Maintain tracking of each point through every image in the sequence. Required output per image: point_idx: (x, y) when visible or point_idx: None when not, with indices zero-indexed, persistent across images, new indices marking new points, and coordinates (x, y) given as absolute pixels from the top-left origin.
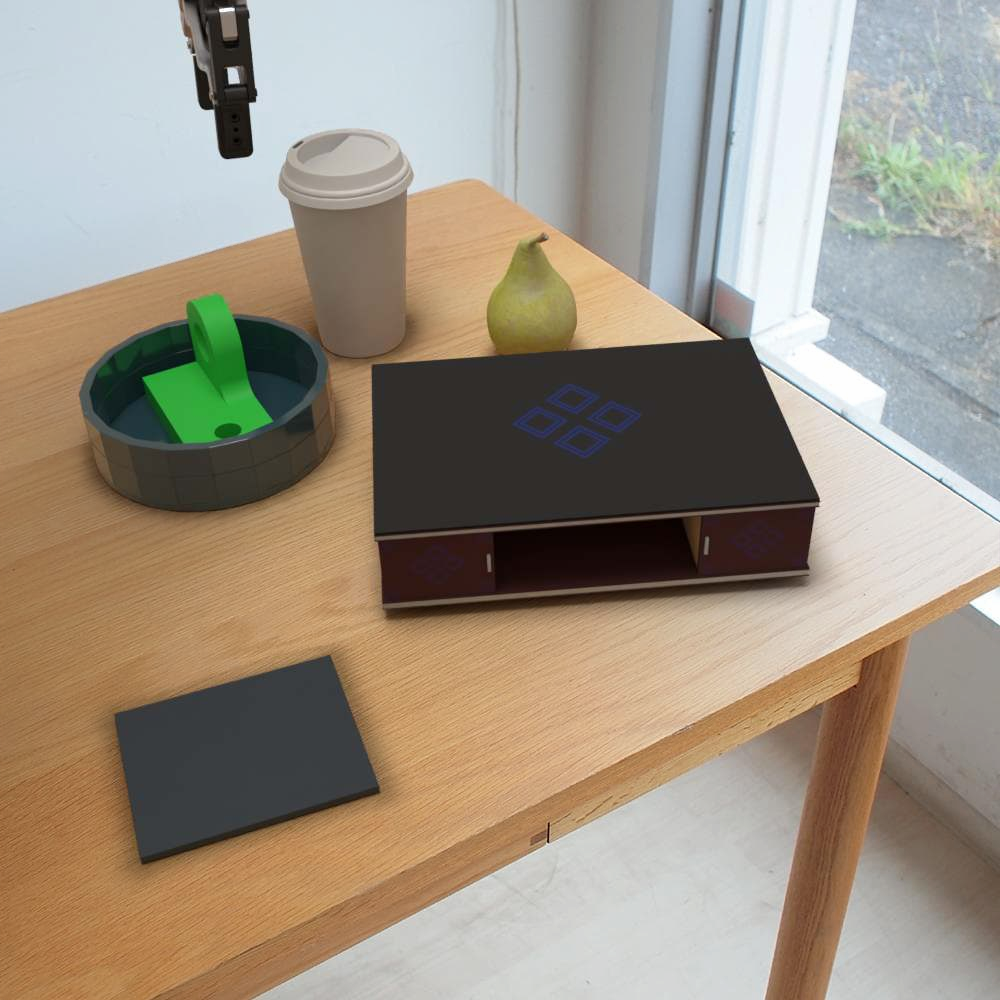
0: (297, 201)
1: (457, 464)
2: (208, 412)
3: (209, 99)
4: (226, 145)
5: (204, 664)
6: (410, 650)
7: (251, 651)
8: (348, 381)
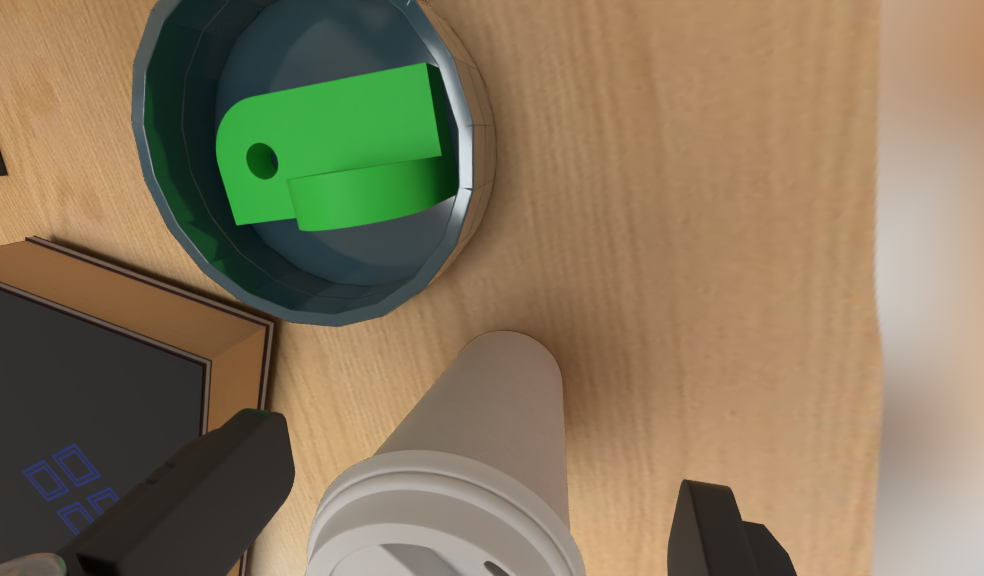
0: (367, 462)
1: (15, 371)
2: (308, 145)
3: (682, 534)
4: (184, 448)
5: (4, 59)
6: (18, 241)
7: (18, 108)
8: (414, 330)
